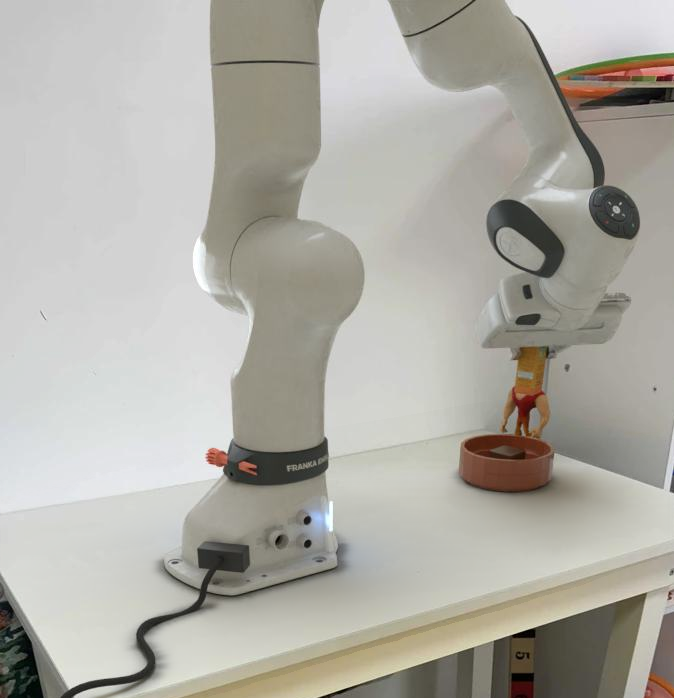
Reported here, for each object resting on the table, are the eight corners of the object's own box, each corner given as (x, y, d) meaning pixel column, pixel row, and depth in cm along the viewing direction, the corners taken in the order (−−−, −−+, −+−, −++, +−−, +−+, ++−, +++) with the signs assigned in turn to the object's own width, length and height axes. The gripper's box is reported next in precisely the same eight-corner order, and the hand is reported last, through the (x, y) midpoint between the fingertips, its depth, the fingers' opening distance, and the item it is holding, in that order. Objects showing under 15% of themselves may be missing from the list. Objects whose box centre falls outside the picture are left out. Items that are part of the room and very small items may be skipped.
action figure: (492, 447, 151) (499, 359, 144) (506, 443, 153) (514, 356, 146) (533, 460, 144) (543, 369, 138) (548, 456, 146) (558, 366, 140)
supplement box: (534, 396, 130) (541, 327, 126) (513, 393, 132) (519, 324, 128) (544, 392, 133) (551, 324, 128) (523, 388, 134) (529, 321, 130)
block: (508, 481, 133) (510, 456, 131) (487, 475, 136) (489, 450, 134) (523, 475, 136) (526, 450, 134) (502, 469, 138) (504, 445, 136)
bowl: (515, 499, 128) (519, 467, 125) (440, 477, 137) (442, 446, 134) (568, 477, 137) (572, 446, 134) (494, 458, 146) (496, 428, 143)
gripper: (631, 274, 120) (590, 335, 133) (490, 278, 117) (462, 340, 130) (642, 313, 118) (599, 371, 131) (499, 318, 115) (470, 376, 128)
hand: (530, 355), depth 130 cm, fingers closed on supplement box, 4 cm apart
